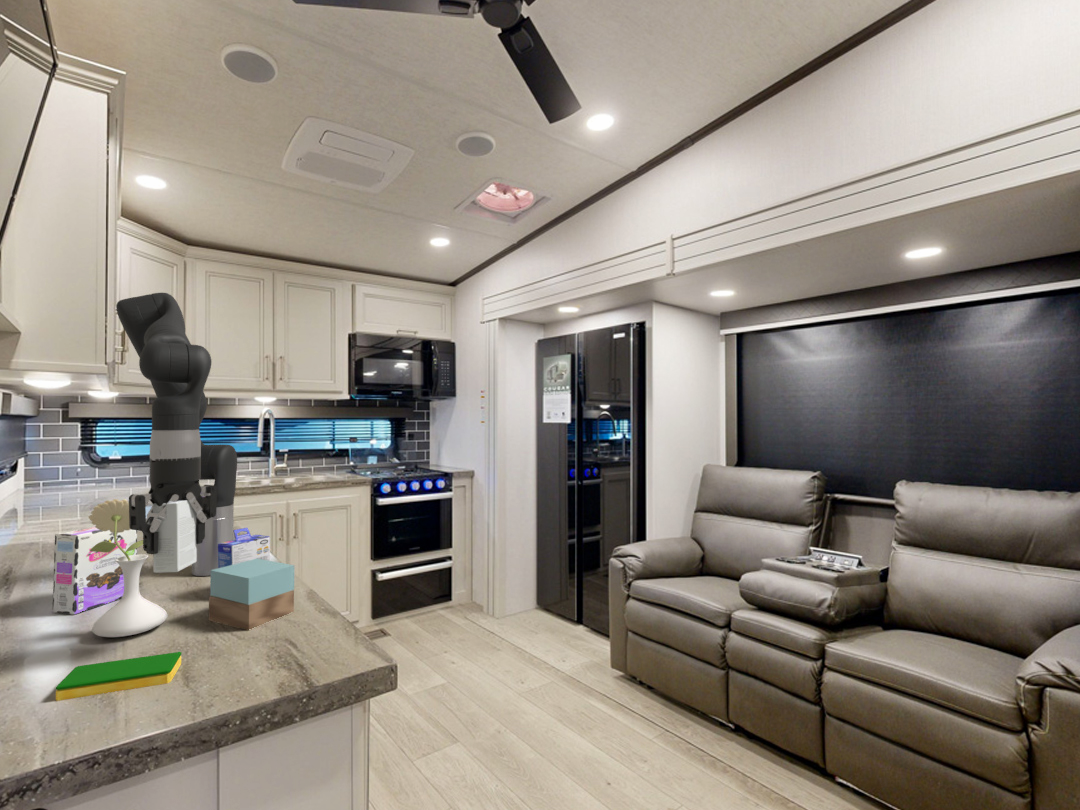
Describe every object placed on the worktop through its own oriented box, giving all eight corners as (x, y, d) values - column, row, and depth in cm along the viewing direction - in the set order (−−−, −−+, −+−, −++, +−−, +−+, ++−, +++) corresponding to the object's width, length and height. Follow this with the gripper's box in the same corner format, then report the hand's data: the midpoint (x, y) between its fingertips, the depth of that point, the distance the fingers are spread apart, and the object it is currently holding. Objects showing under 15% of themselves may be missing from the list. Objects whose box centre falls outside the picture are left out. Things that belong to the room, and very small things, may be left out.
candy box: (74, 615, 108) (75, 534, 109) (51, 613, 110) (52, 533, 110) (137, 593, 122) (138, 521, 122) (116, 592, 123) (117, 520, 124)
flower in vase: (179, 617, 107) (180, 493, 108) (147, 641, 96) (149, 502, 96) (106, 622, 105) (108, 495, 105) (65, 646, 94) (67, 504, 94)
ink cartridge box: (255, 584, 128) (256, 524, 129) (271, 587, 126) (272, 526, 126) (216, 597, 119) (216, 532, 120) (232, 600, 117) (233, 534, 117)
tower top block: (256, 581, 115) (257, 558, 115) (294, 589, 110) (294, 565, 110) (210, 595, 106) (210, 570, 107) (248, 604, 101) (248, 578, 101)
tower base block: (254, 605, 115) (254, 582, 115) (293, 614, 110) (293, 589, 110) (208, 621, 106) (209, 596, 106) (248, 631, 101) (249, 605, 101)
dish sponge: (169, 686, 81) (170, 669, 81) (54, 704, 75) (54, 687, 76) (181, 665, 87) (182, 650, 87) (76, 681, 82) (76, 665, 82)
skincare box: (172, 563, 97) (173, 497, 97) (197, 562, 98) (197, 497, 98) (151, 573, 91) (151, 503, 91) (177, 572, 92) (178, 502, 92)
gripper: (201, 451, 103) (201, 537, 102) (117, 457, 90) (117, 556, 89) (228, 453, 100) (227, 541, 99) (144, 459, 87) (144, 561, 86)
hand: (175, 548), depth 94 cm, fingers closed on skincare box, 7 cm apart
